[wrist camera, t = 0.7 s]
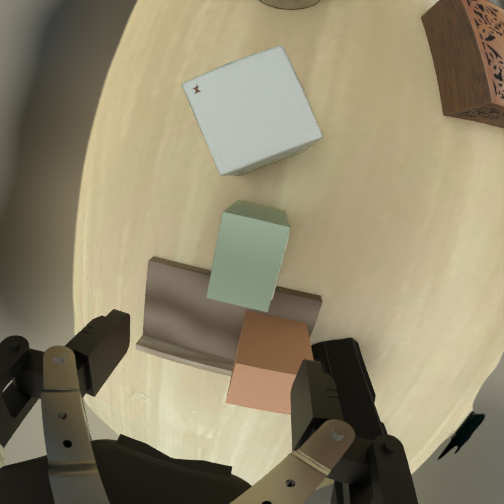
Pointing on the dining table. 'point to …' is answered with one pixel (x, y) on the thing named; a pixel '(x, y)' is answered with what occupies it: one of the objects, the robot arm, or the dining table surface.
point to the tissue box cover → (468, 58)
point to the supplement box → (252, 111)
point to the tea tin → (248, 255)
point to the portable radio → (350, 392)
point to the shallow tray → (204, 317)
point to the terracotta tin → (268, 362)
